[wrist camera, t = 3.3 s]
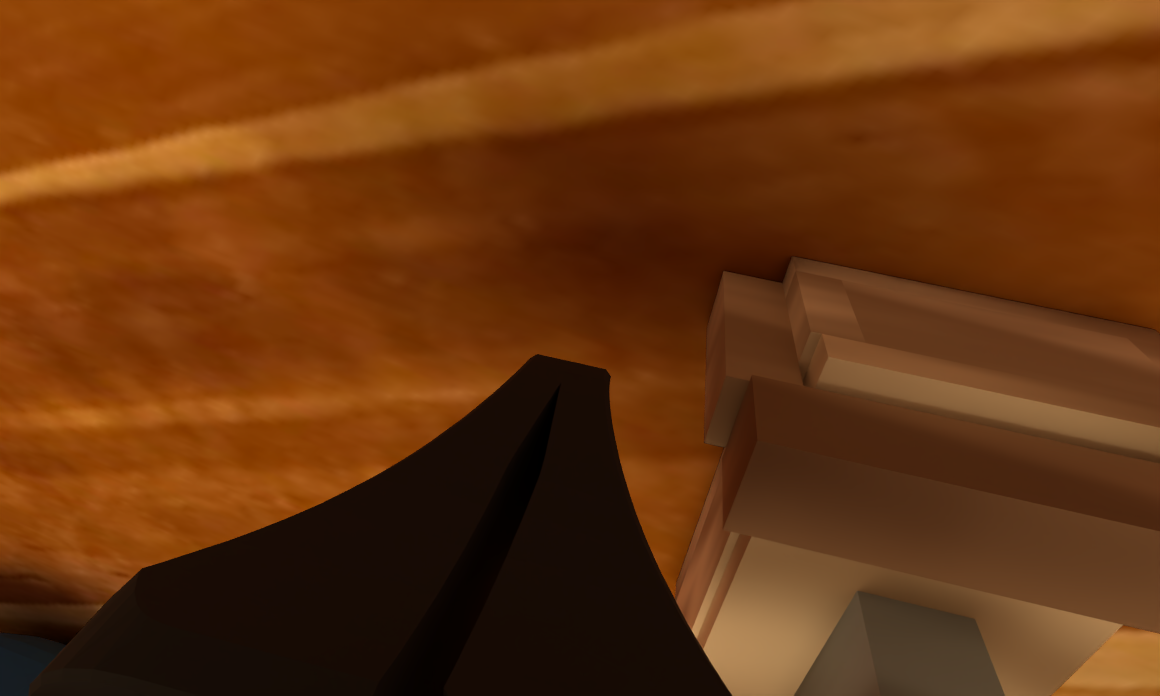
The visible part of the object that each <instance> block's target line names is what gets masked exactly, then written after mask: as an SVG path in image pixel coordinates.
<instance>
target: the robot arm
mask: <svg viewBox="0 0 1160 696" xmlns="http://www.w3.org/2000/svg"><path fill="white" fill-rule="evenodd" d="M610 378H611V376H610V375H609V373H608V372H607V370H606V369H602V368H597V367H593V366H588V365H584V364H579V363H575V362H570V361H566V360H561V359H557V358H552V357H548V356H543V355H539V354H537V355H535V356H533V357H532V358H530V359H529V360H528V361H527V362H526V363H525V364H524V365H523V366H522V367H521V368H520V369H519V370H518V371H517V372H516V373H515V374H514V375H513V376H512V377H511V378H510V379H509V380H508V381H506V382H505V383H504V384H503V385H502V386H501V387H500V388H499V389H497V390H496V391H495V392H494V393H493V394H492V395H491V396H489V397H488V398H487V399H486V400H484V401H483V402H482V403H481V404H480V405H478V406H477V407H476V408H475V409H474V410H472V411H471V412H470V413H469V414H467V415H466V416H465V417H464V418H462V419H461V420H460V421H458V422H457V423H456V424H454V425H453V426H451V427H450V428H449V429H447V430H446V431H445V432H443V433H442V434H440V435H439V436H438V437H436V438H435V439H434V440H432V441H431V442H429V443H428V444H426V445H425V446H423V447H422V448H420V449H419V450H417V451H416V452H414V453H413V454H411V455H410V456H408V457H406V458H405V459H403V460H402V461H400V462H398V463H397V464H395V465H393V466H391V467H390V468H388V469H386V470H385V471H383V472H381V473H380V474H378V475H376V476H374V477H372V478H370V479H368V480H367V481H365V482H363V483H361V484H359V485H357V486H355V487H353V488H351V489H350V490H348V491H346V492H344V493H342V494H340V495H338V496H335V497H333V498H331V499H329V500H327V501H325V502H323V503H321V504H319V505H317V506H315V507H312V508H310V509H308V510H305V511H303V512H301V513H298V514H296V515H294V516H291V517H289V518H287V519H284V520H282V521H279V522H277V523H274V524H272V525H269V526H266V527H264V528H261V529H259V530H256V531H254V532H251V533H248V534H246V535H243V536H240V537H237V538H235V539H232V540H229V541H226V542H223V543H220V544H217V545H214V546H211V547H208V548H205V549H202V550H199V551H196V552H193V553H189V554H186V555H183V556H180V557H177V558H174V559H171V560H168V561H165V562H162V563H159V564H155V565H152V566H148V567H145V568H142V569H141V570H140V571H139V572H138V573H137V574H136V575H135V576H134V577H133V578H132V579H131V580H129V581H128V582H127V583H126V584H125V585H124V586H123V587H122V588H121V589H120V590H119V591H118V592H117V593H115V594H114V595H113V596H112V597H111V598H110V599H109V600H108V601H107V602H106V603H105V604H104V606H103V607H102V608H101V609H100V610H99V611H98V612H97V613H96V614H95V615H94V616H93V617H92V618H91V620H90V621H89V622H88V623H87V624H86V625H85V626H84V627H83V628H82V629H81V630H80V631H79V632H78V633H77V635H76V636H75V637H74V638H73V639H72V640H71V641H70V642H69V643H68V644H67V645H66V646H65V647H64V648H63V650H62V651H61V652H60V653H59V654H58V655H57V656H56V657H55V658H54V659H53V660H52V661H51V662H50V663H49V665H48V666H47V667H46V668H45V669H44V670H43V671H42V672H41V673H40V674H39V675H38V676H37V677H36V678H35V680H34V681H33V682H32V683H31V684H30V685H29V695H28V696H732V694H731V693H730V691H729V690H728V688H727V687H726V685H725V684H724V682H723V681H722V679H721V677H720V676H719V674H718V673H717V671H716V670H715V668H714V667H713V665H712V664H711V662H710V660H709V659H708V657H707V655H706V654H705V652H704V650H703V649H702V647H701V645H700V644H699V642H698V640H697V639H696V637H695V635H694V634H693V632H692V630H691V629H690V627H689V625H688V623H687V621H686V620H685V618H684V616H683V614H682V612H681V610H680V608H679V606H678V604H677V602H676V600H675V599H674V597H673V595H672V593H671V591H670V589H669V587H668V585H667V583H666V581H665V579H664V577H663V576H662V574H661V572H660V570H659V567H658V565H657V563H656V561H655V558H654V556H653V554H652V552H651V549H650V547H649V545H648V543H647V540H646V538H645V535H644V533H643V530H642V528H641V525H640V523H639V520H638V517H637V515H636V512H635V509H634V506H633V503H632V500H631V497H630V494H629V491H628V488H627V484H626V481H625V478H624V474H623V471H622V467H621V463H620V459H619V455H618V450H617V445H616V441H615V436H614V431H613V425H612V419H611V410H610V399H609V385H610Z"/></svg>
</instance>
